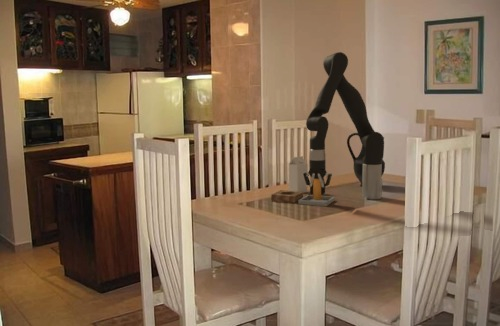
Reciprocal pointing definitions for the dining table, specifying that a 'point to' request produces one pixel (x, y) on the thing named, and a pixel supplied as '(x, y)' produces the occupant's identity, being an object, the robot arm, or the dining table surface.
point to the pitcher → (360, 160)
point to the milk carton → (297, 174)
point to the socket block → (287, 196)
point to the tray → (310, 201)
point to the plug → (317, 189)
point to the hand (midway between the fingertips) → (317, 194)
